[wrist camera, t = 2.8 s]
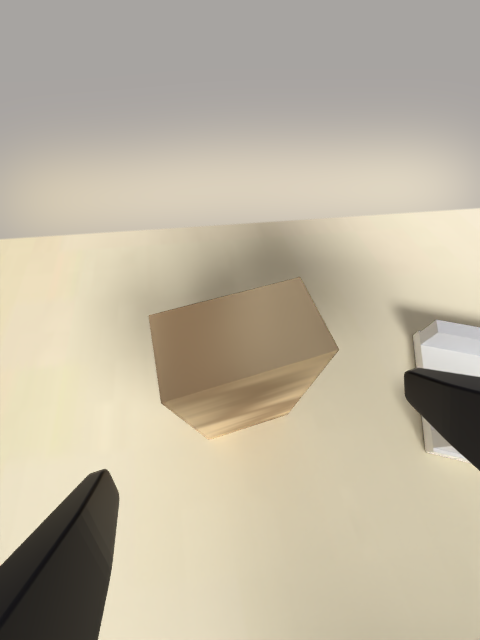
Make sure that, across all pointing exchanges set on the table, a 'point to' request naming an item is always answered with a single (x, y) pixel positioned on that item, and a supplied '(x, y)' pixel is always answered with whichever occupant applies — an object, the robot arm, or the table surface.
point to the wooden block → (240, 356)
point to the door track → (446, 367)
